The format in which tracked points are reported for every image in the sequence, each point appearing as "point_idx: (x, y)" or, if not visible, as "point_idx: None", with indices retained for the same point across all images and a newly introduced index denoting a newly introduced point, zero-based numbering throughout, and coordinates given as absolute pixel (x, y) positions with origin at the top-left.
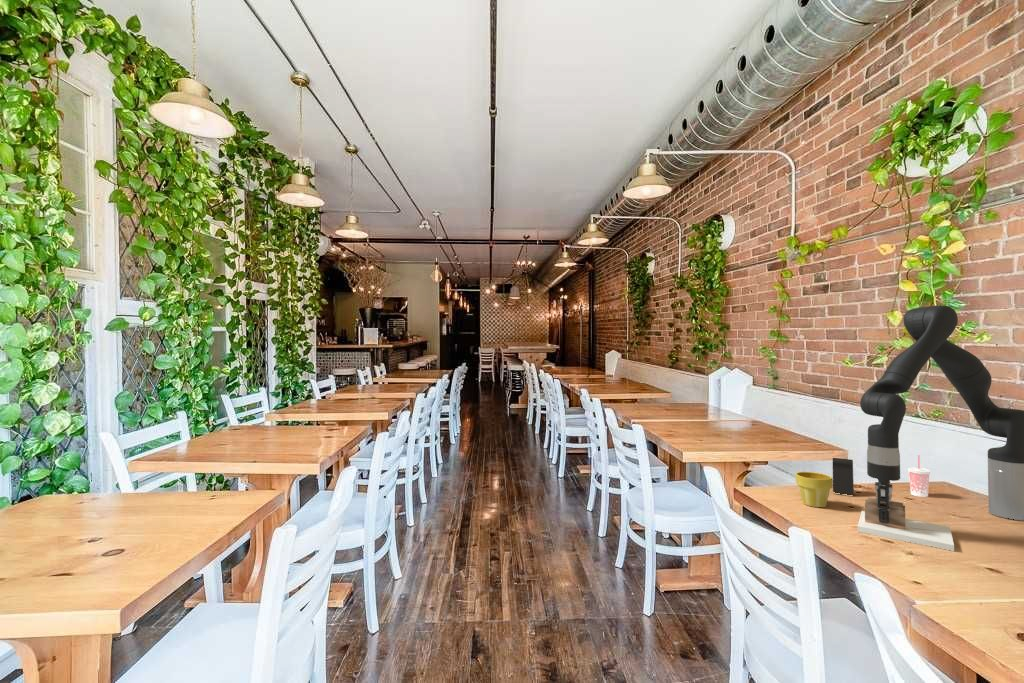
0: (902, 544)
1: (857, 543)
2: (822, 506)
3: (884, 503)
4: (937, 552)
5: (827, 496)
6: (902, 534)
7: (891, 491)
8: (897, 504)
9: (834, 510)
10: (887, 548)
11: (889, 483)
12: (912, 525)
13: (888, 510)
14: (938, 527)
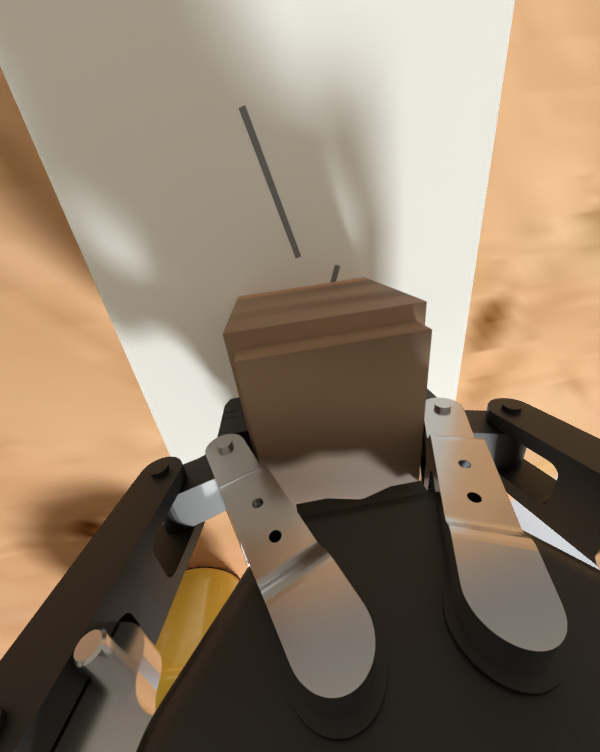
0: (504, 263)
1: (573, 395)
2: (220, 573)
3: (387, 457)
4: (552, 78)
5: (191, 618)
6: (465, 276)
7: (531, 543)
8: (342, 384)
9: (213, 541)
10: (588, 304)
11: (43, 696)
12: (235, 256)
13: (445, 400)
14: (102, 74)
